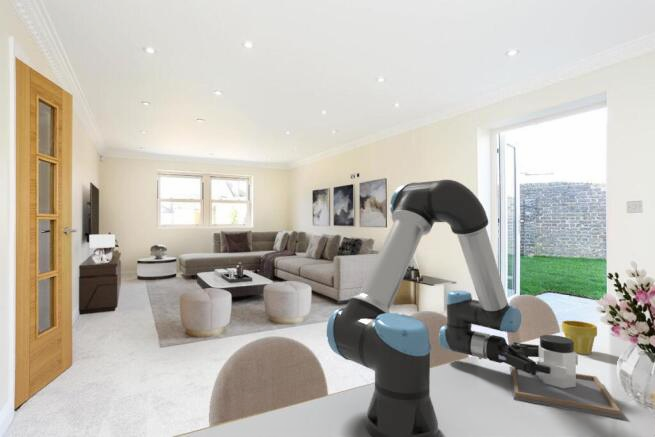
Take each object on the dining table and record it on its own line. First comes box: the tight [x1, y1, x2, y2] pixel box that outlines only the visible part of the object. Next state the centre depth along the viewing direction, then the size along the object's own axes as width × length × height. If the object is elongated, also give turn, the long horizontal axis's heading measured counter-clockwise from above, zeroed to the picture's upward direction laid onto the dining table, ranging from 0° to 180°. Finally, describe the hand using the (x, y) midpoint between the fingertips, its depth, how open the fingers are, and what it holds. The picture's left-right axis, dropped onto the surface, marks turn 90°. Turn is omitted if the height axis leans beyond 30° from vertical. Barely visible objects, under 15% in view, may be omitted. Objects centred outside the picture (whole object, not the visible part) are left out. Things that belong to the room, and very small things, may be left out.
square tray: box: [509, 365, 624, 420], centre depth 98 cm, size 22×22×2 cm
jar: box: [538, 334, 577, 389], centre depth 102 cm, size 9×8×12 cm
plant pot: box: [561, 320, 598, 355], centre depth 129 cm, size 10×10×10 cm
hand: (572, 366), depth 96 cm, fingers open, 13 cm apart
